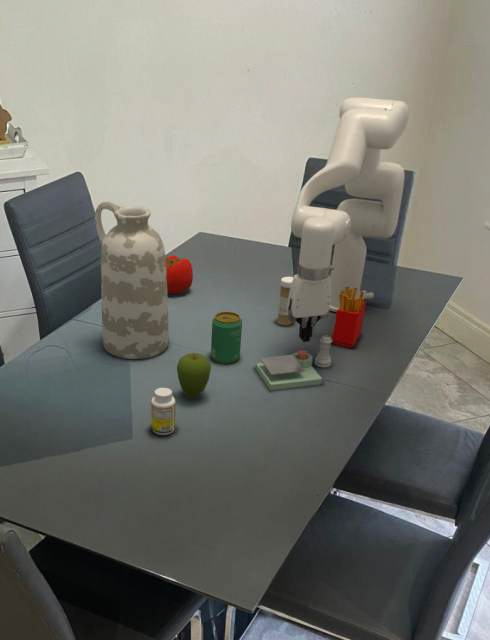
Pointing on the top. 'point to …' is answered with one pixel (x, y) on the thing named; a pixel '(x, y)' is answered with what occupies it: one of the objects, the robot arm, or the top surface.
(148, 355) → the vase
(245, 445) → the top surface
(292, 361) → the scale pan
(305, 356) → the tare button
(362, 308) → the french fries container
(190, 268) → the tomato
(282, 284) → the sprinkles bottle
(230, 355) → the beverage can
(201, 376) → the apple
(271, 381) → the scale
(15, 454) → the top surface
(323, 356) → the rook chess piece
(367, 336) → the top surface
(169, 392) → the supplement bottle
